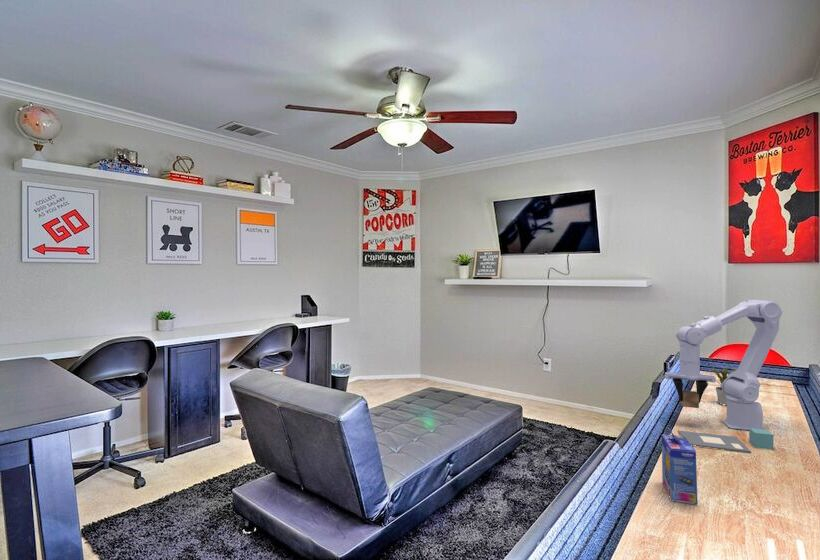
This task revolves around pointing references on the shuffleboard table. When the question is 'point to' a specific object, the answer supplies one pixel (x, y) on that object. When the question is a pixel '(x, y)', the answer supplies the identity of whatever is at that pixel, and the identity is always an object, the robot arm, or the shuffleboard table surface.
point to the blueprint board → (715, 441)
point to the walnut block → (690, 399)
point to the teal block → (761, 438)
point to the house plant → (720, 393)
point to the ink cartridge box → (679, 468)
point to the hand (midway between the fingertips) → (689, 401)
